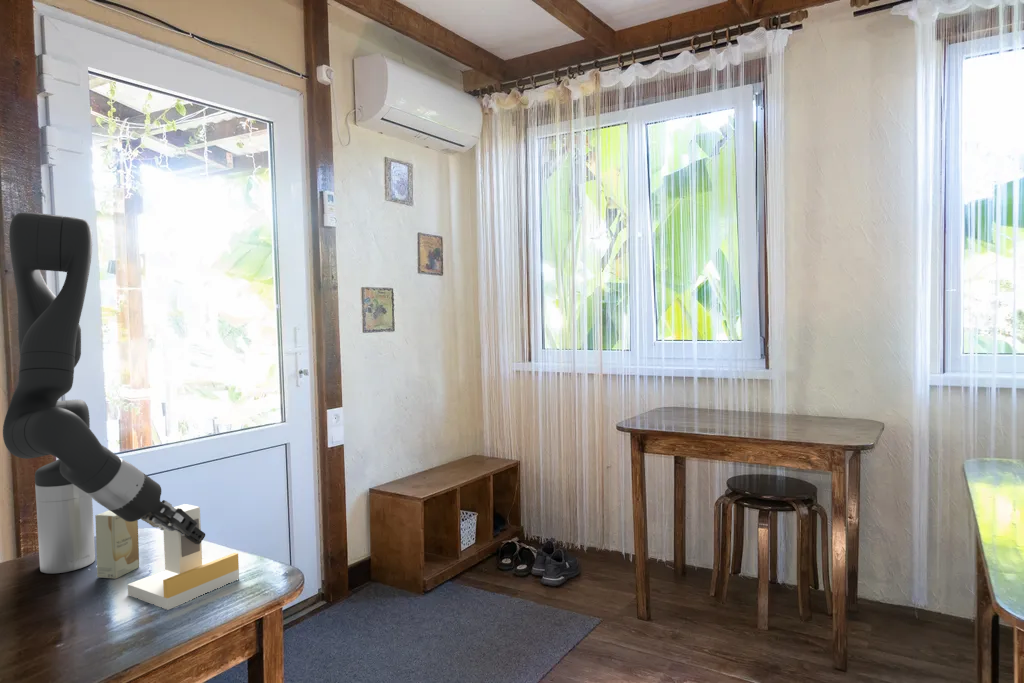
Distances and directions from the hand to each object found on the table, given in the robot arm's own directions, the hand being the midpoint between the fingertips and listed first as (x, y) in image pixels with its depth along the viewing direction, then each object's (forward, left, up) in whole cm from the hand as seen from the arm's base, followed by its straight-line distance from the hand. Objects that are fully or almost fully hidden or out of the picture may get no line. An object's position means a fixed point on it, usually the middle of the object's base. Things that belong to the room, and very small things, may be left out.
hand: (192, 536), depth 121 cm
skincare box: (-18, -4, -9) cm, 21 cm away
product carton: (0, -2, -5) cm, 6 cm away
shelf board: (0, -2, -9) cm, 9 cm away
